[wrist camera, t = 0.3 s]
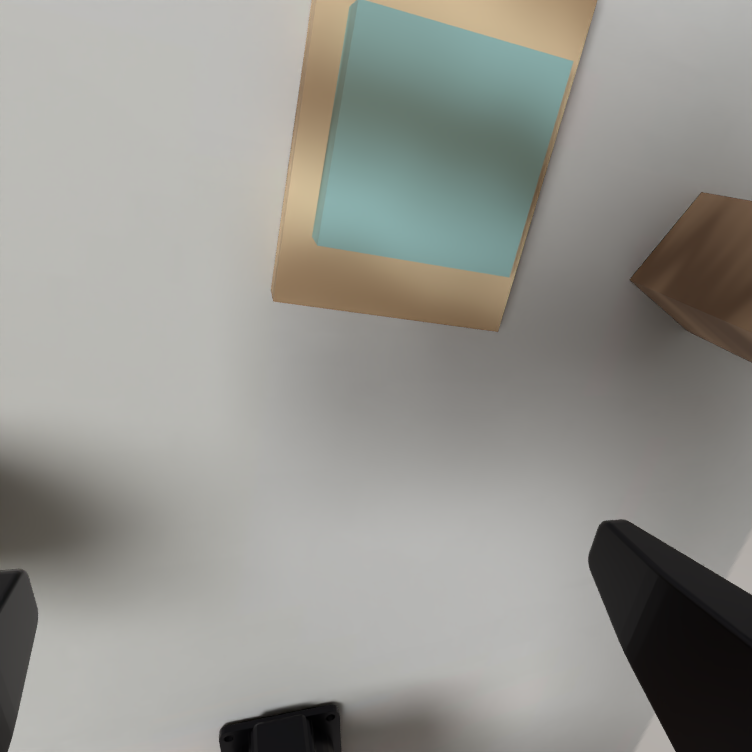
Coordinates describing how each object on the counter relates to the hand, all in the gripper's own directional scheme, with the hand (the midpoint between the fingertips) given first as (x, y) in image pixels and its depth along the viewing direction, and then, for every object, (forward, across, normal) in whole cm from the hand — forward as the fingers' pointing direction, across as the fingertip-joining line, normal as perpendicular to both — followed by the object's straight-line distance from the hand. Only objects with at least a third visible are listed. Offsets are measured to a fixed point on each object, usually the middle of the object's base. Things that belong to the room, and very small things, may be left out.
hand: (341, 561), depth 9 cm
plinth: (+15, -5, -4) cm, 17 cm away
